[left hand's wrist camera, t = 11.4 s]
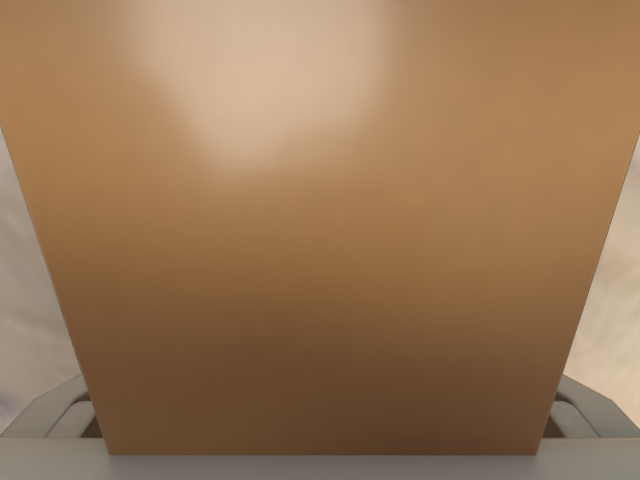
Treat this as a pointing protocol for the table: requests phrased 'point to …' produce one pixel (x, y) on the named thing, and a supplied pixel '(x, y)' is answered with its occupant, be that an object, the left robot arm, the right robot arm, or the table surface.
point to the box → (321, 211)
